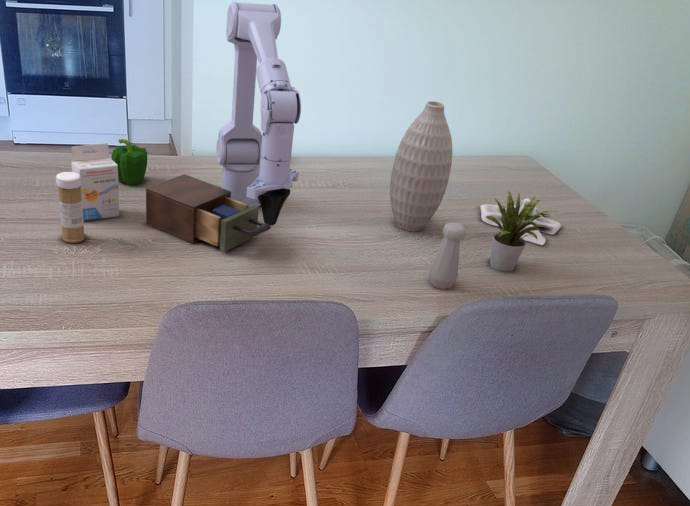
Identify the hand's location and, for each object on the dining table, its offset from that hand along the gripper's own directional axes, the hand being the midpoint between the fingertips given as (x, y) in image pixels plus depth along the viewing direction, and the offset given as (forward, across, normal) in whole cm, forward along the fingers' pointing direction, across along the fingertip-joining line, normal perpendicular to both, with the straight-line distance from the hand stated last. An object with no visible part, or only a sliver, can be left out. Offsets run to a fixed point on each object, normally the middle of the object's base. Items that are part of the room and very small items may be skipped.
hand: (269, 223), depth 141 cm
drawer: (+7, 0, +10) cm, 12 cm away
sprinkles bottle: (+8, -22, +33) cm, 40 cm away
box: (+6, 0, +11) cm, 13 cm away
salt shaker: (+8, +16, -32) cm, 37 cm away
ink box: (+8, -10, +38) cm, 40 cm away
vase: (+8, +38, -14) cm, 41 cm away
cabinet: (+8, 0, +21) cm, 23 cm away
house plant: (+8, +33, -39) cm, 52 cm away
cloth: (+8, +60, -34) cm, 70 cm away
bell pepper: (+8, +9, +47) cm, 49 cm away
